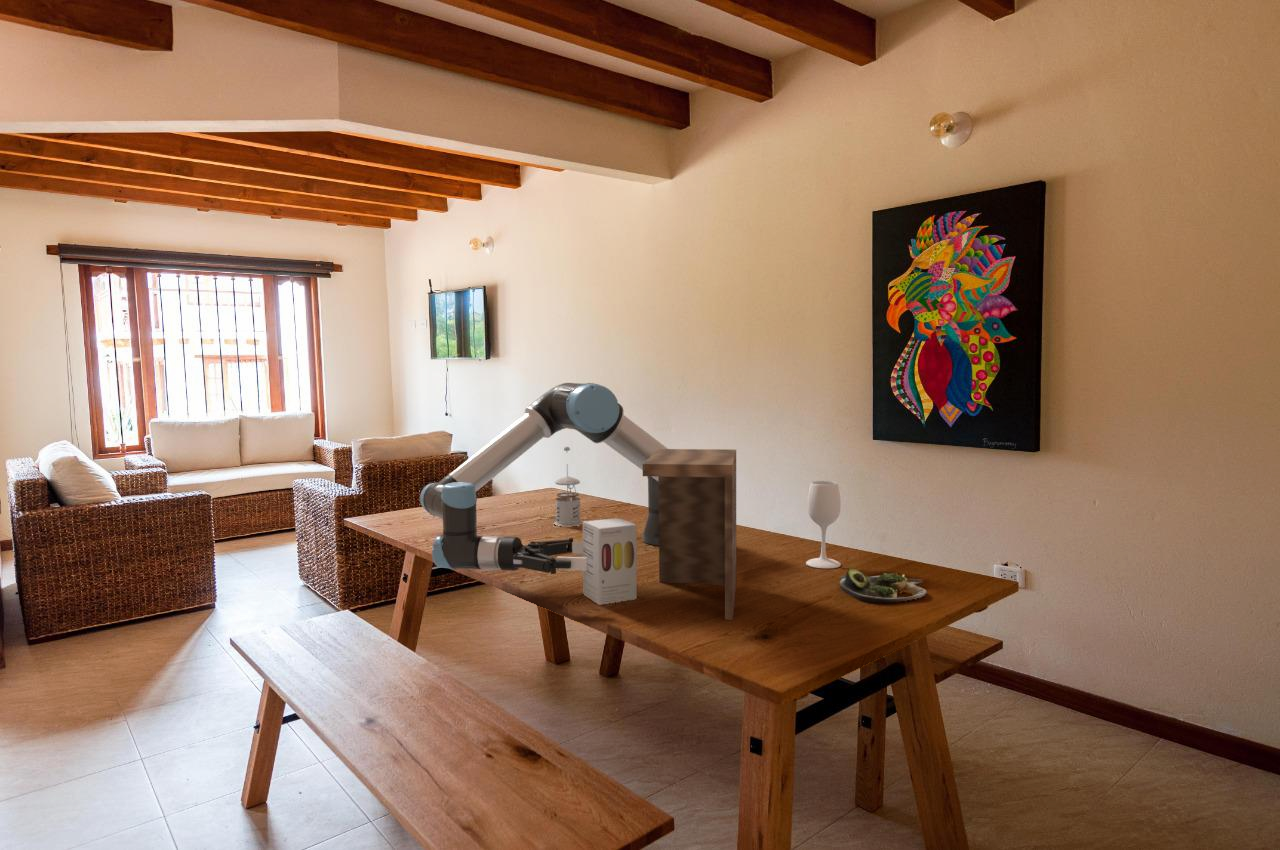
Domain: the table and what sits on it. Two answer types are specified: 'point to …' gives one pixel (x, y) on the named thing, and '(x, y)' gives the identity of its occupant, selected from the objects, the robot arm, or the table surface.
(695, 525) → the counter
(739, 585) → the table surface
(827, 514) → the wineglass
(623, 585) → the supplement box
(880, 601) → the salad plate
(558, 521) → the french press
